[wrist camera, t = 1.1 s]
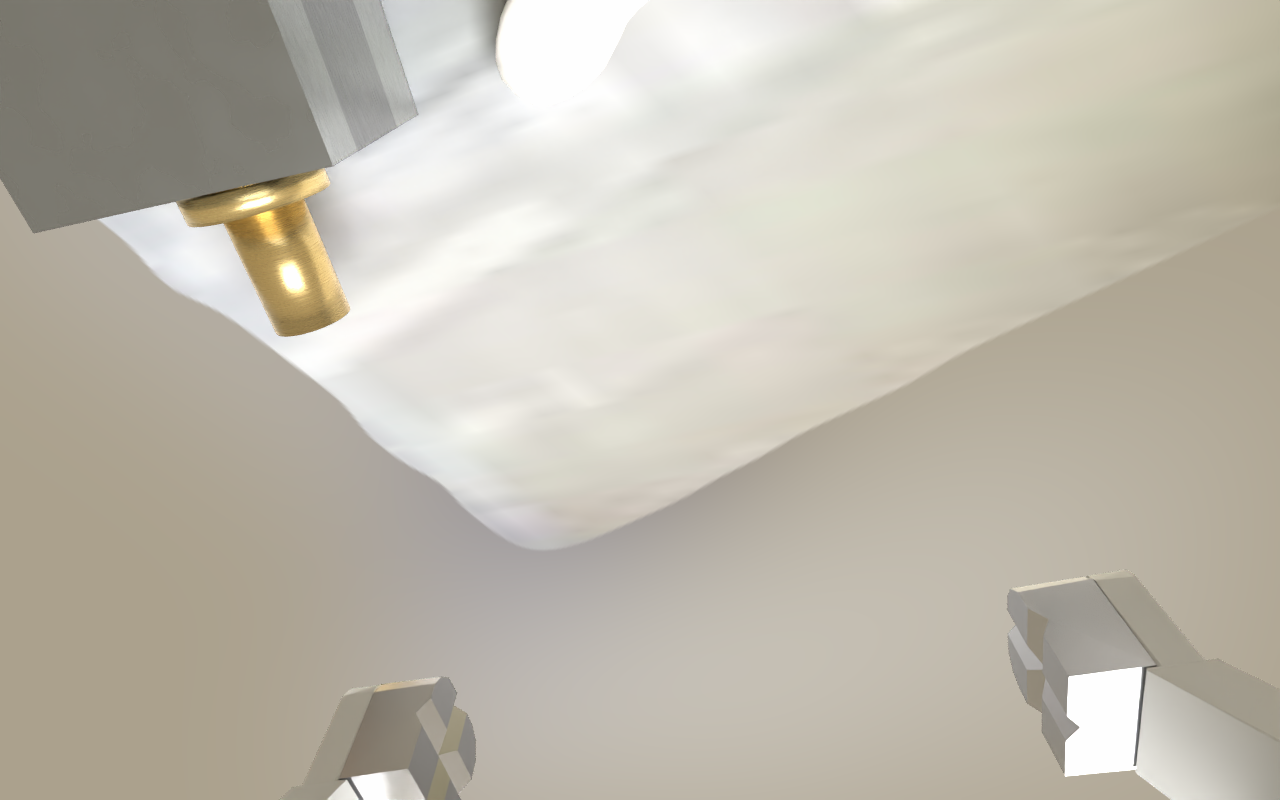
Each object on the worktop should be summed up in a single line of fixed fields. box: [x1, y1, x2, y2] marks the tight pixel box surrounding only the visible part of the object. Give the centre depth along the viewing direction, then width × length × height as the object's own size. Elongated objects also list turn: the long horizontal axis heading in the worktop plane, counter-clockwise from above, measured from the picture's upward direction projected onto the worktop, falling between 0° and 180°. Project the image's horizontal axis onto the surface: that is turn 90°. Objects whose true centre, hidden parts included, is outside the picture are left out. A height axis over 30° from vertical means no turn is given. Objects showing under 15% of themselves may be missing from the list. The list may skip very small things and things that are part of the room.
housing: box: [0, 0, 418, 233], centre depth 36 cm, size 12×14×13 cm
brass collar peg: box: [176, 168, 350, 337], centre depth 38 cm, size 15×7×7 cm, turn 12°
